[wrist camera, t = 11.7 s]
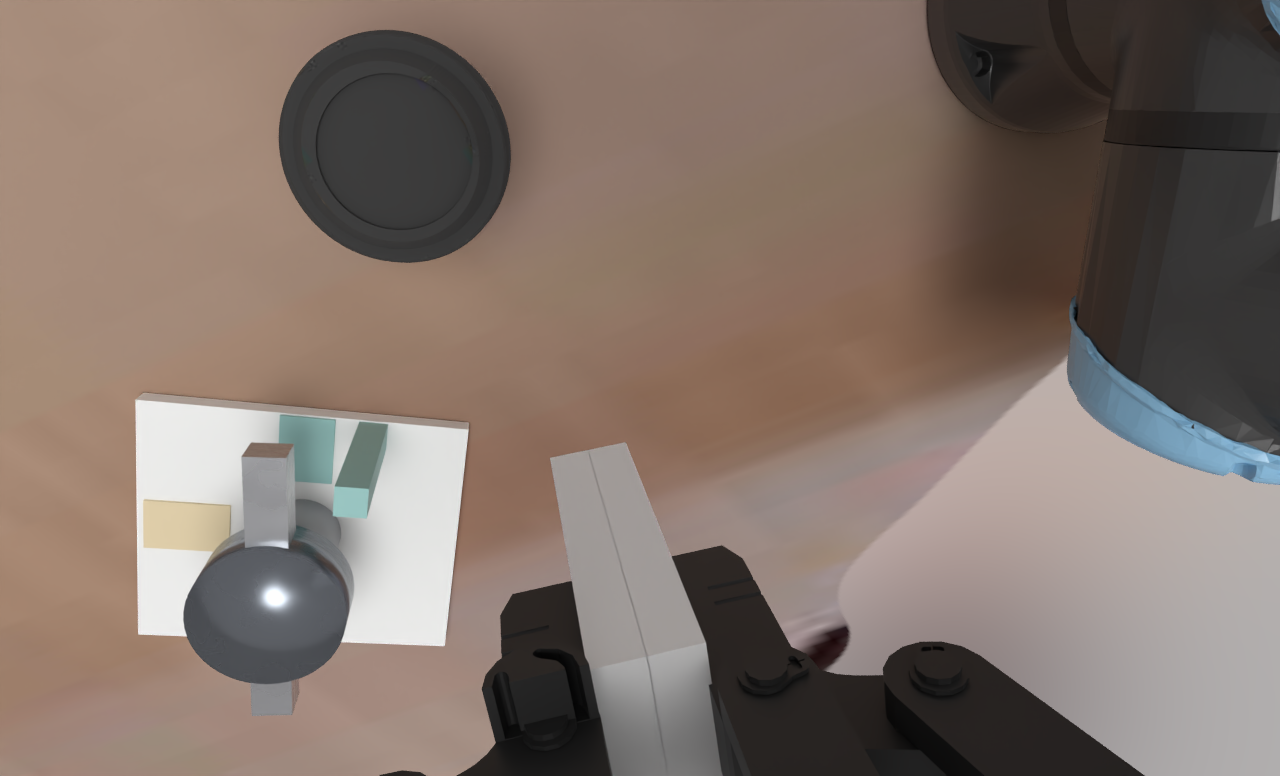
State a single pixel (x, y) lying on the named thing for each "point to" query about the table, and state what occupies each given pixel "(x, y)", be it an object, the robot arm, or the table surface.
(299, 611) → the knob
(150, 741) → the table surface
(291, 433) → the lock base
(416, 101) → the coffee cup
